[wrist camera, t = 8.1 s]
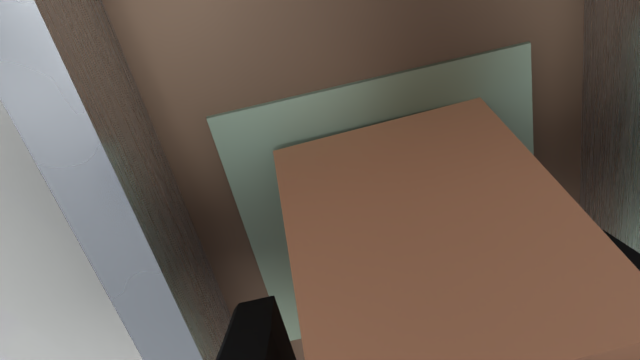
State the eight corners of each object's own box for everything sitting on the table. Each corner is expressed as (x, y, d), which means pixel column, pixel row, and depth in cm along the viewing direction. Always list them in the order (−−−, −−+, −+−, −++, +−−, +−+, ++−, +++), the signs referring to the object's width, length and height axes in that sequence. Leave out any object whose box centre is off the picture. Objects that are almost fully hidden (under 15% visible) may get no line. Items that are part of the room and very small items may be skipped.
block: (480, 97, 11) (693, 328, 6) (492, 258, 13) (658, 529, 8) (272, 150, 11) (315, 426, 6) (317, 303, 13) (376, 603, 8)
